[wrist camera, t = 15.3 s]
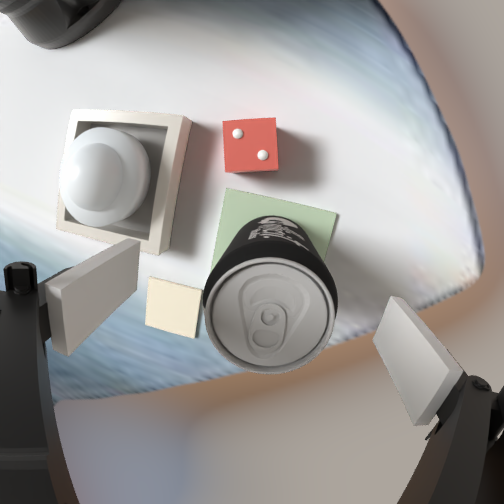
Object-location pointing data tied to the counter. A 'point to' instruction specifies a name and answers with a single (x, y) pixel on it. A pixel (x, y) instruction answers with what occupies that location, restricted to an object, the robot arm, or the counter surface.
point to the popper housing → (161, 183)
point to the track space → (172, 307)
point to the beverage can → (270, 298)
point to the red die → (250, 145)
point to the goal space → (253, 206)
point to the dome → (104, 176)
